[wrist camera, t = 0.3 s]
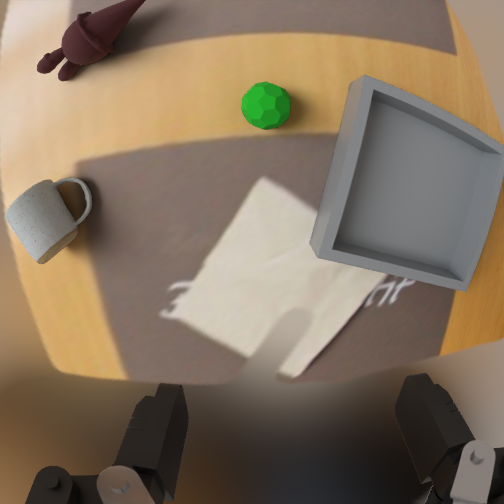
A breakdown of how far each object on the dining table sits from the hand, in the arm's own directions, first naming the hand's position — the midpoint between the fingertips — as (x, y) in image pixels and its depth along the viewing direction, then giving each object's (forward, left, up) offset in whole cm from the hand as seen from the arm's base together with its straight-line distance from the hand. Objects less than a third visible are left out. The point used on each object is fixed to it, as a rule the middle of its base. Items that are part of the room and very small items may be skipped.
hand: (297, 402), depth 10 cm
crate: (-8, +16, -27) cm, 32 cm away
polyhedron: (-12, -3, -27) cm, 30 cm away
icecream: (-18, -24, -27) cm, 40 cm away
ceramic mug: (+4, -26, -27) cm, 38 cm away
